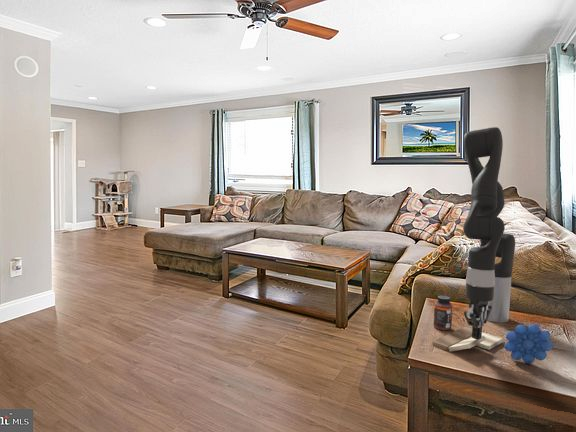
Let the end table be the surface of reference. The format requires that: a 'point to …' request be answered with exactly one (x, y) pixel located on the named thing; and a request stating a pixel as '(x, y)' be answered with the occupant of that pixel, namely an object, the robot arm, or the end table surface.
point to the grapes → (528, 343)
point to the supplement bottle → (443, 313)
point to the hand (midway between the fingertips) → (476, 338)
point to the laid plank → (453, 338)
